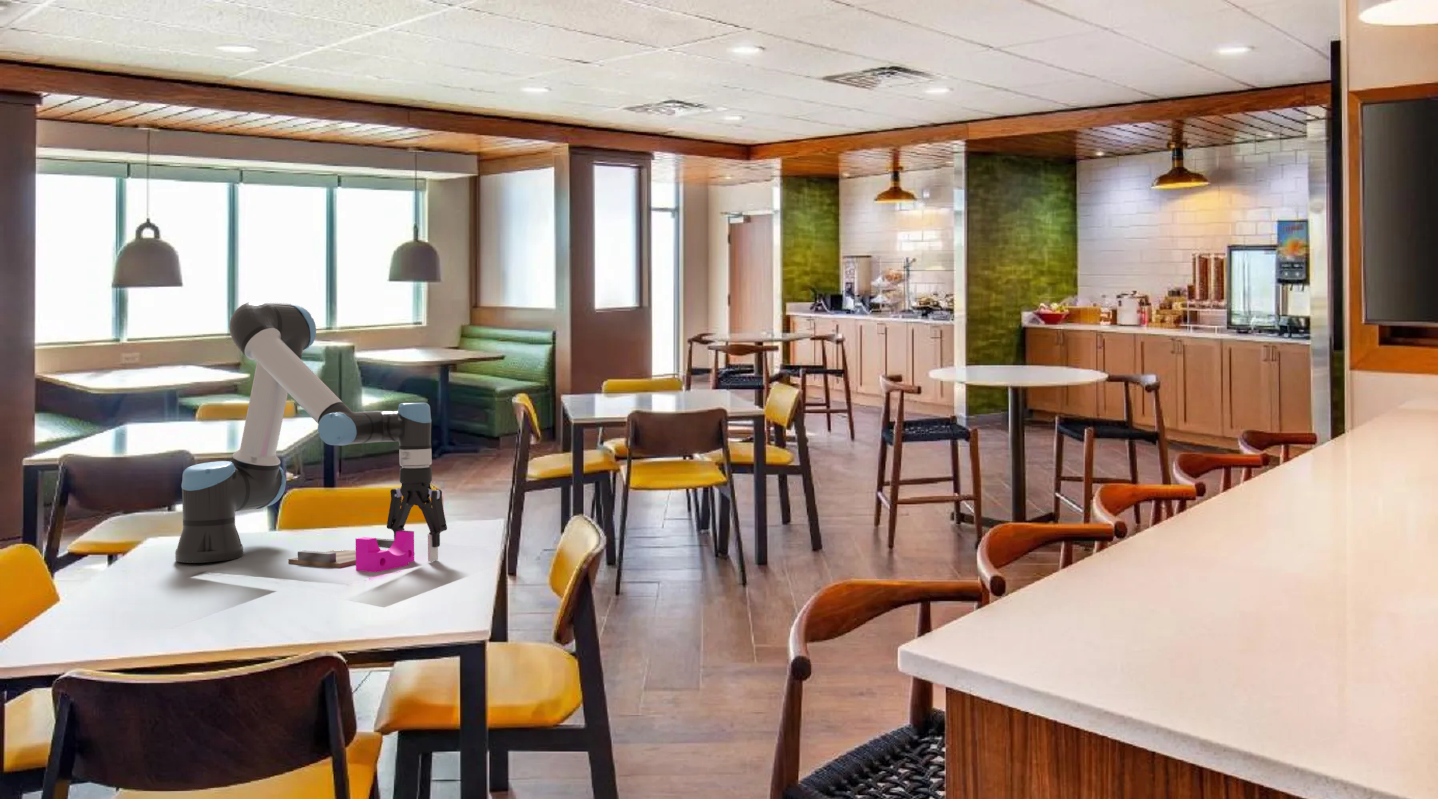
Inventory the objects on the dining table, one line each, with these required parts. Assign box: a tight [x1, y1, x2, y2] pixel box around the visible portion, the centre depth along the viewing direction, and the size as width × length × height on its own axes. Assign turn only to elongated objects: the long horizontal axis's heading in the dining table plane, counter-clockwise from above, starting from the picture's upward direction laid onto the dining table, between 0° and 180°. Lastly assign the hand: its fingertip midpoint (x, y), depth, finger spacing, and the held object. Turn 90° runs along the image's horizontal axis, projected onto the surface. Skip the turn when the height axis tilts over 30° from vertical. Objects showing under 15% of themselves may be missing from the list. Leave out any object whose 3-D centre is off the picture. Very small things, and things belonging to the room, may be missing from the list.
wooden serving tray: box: [288, 537, 394, 569], centre depth 262 cm, size 16×24×3 cm, turn 156°
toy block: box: [355, 529, 415, 573], centre depth 250 cm, size 15×6×8 cm, turn 153°
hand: (417, 559), depth 257 cm, fingers open, 9 cm apart
